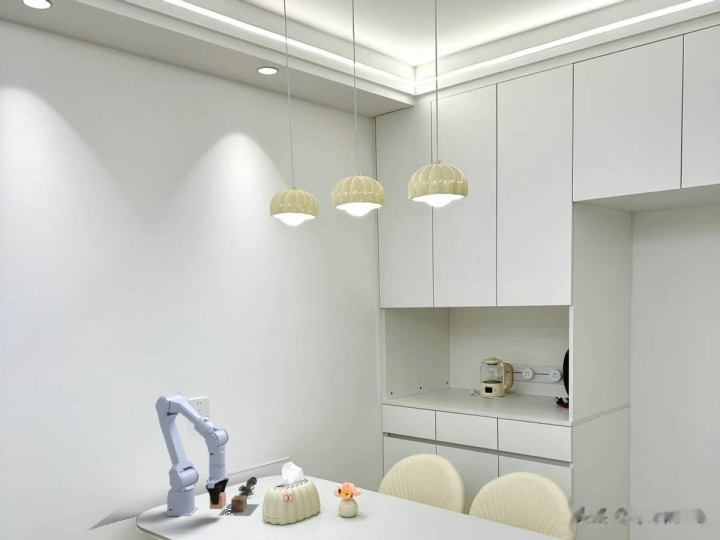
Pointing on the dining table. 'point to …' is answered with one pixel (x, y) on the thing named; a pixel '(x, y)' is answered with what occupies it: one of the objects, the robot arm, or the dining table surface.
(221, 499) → the terracotta block
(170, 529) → the dining table surface
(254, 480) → the eagle figurine
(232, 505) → the walnut block
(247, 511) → the mat
